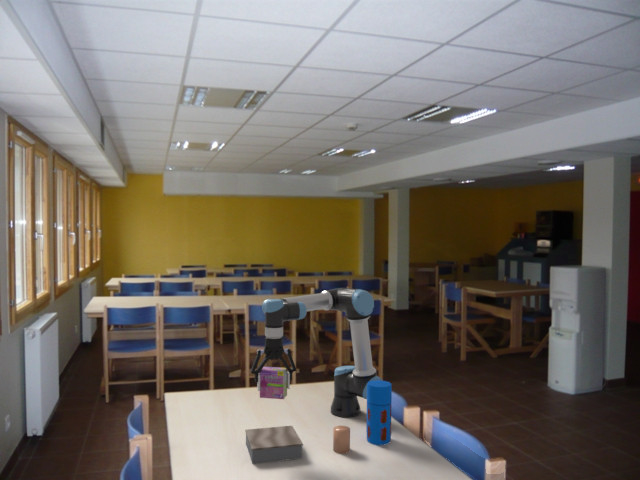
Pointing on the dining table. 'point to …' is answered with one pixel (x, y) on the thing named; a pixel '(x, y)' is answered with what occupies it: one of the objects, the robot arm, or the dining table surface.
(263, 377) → the box
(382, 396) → the thermos
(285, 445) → the podium
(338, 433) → the tan rounded cylinder
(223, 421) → the dining table surface
